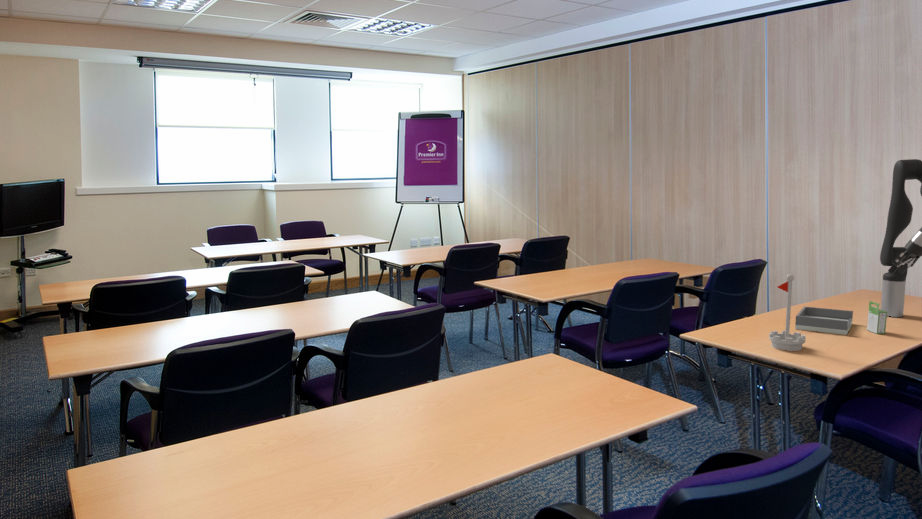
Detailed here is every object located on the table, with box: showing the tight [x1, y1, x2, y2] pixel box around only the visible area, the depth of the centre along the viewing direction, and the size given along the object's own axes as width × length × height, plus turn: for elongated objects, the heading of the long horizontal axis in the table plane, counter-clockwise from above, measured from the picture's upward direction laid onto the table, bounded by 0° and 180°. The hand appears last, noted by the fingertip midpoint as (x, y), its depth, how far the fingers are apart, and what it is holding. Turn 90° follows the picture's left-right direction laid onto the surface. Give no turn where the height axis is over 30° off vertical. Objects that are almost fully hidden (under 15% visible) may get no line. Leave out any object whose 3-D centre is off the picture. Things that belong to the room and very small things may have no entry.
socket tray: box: [794, 306, 854, 336], centre depth 290 cm, size 24×20×6 cm
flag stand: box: [768, 273, 806, 352], centre depth 256 cm, size 13×13×30 cm
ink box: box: [866, 300, 888, 335], centre depth 278 cm, size 7×4×13 cm, turn 179°
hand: (894, 272), depth 284 cm, fingers open, 8 cm apart
